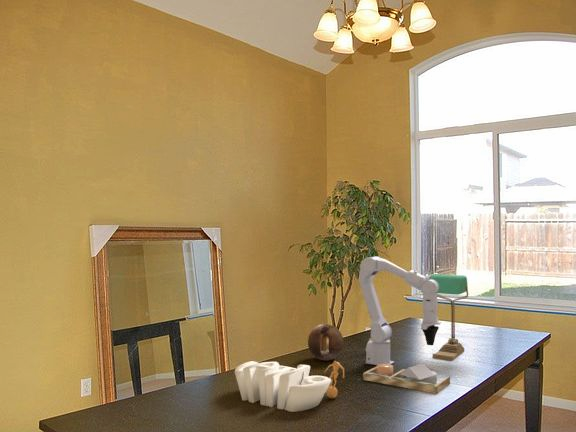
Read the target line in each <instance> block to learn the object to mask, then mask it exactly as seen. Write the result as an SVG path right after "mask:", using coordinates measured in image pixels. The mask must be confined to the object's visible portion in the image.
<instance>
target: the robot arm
mask: <svg viewBox="0 0 576 432" xmlns="http://www.w3.org/2000/svg"><path fill="white" fill-rule="evenodd" d="M359 267H360V268H359V275H358V282H359V286H360V289H361V292H362V295H363V298H364V302H365V306H366V308H367V311H368V315H369V319H370V324H369V328H370V338H372V340H373V341H369V340H368V341H367V343H366V348H365V349H366V351H365V353H366V354H365V356H366V357H365V358H366V359H365V362H364V363H365V364H367V365H375V366H377V365H378V364H390V365H393V364H394V363H395V361H393V360H391V339H390V338H391V337H392V335H393V329H392V327H391V326H390V325H389V323H388V321H387V319H386V318H385V317H384V315H383V311H382V308H381V306H380V305H381V304H380V301H379V299H378V296H377V292H376V290H375V286H374V283H373V279H374V278H375V276H376V275H377V273H379V272H382V271H384V272H385V271H386V272H388V273H390V274H393V275H395V276H397V277H399V278H402V279H403V281H404V283H405V284H406V285H409V286H411V287H412V288H415V289H416V290H418V291H421V293H422V320H421V324H420V329H421V330H422V333H423V334H424V337H425V342H426V345H427V346H434V343H435V340H436V339H435V338H436V335H437V333H438V331H439V329H440V327H439V326H440V325H441V323H442V322H441V321H440V319H439V318H438V317H439V315H438V306H439V305H438V300H439V299H438V297H437V294H438V293H436V292H437V291H438V289H439V285H438V283H437V282H436V281H435V280H434V279H428V278H429V277H430V276H425V275H422V274H421V273H419V272H418V271H417V270H408V271H407V270H405V269H404V268H402V267H399V266H398V265H397V264H395V263H393V262H391V261H389V260H388V259H385V258H381V257H380V256H377V255H376V256H375V255H374V256H370V257H365V258H363V260H362V262H361V263H360V264H359ZM434 293H435V294H434ZM438 325H439V326H438Z"/></svg>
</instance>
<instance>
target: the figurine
mask: <svg viewBox="0 0 576 432" xmlns="http://www.w3.org/2000/svg"><path fill="white" fill-rule="evenodd" d="M330 367H332V369H333V370H332V371H331V373H330V375H329V377H328V378H330V379H331V383H330V385H329V386H328V388H327V390H326V392H325V395H326V397H327V398H329V399H335V398H336V397H337V396H338V394H339V393H338V389H337V387H336V384H337V379H338V376H339V372H338V371H339V370H340V369H341V370H342V379H345V368H344V367H343V366H342V365H341V363H340V362H339V361H336V360H334V361H333V362H332V364H329V365H328V366H327V368H325V370H324V374H326V372H327V370H329V368H330Z"/></svg>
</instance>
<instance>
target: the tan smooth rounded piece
mask: <svg viewBox="0 0 576 432" xmlns="http://www.w3.org/2000/svg"><path fill="white" fill-rule="evenodd" d="M376 366H377V374H380V375H385V376H389V377H390V376H392V375H394V365H393V364H378V365H376Z"/></svg>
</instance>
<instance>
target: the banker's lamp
mask: <svg viewBox="0 0 576 432" xmlns="http://www.w3.org/2000/svg"><path fill="white" fill-rule="evenodd" d="M428 277H429V278H428V279H434V280H435V281H436V282H437V283H438V285H439V289H438V291H437V292H436V293H437V298H440V299H444V300H446V301H449V302H450V309H451V311H450V313H451V314H450V315H451V318H450V319H451V320H450V321H451V322H450V323H451V325H450V327H451V328H450V329H451V330H450V331H451V334H450V337H451V338H450V337H449V338H448V341H447V342H446V343H444V344H443V345H442V346H441V347H440V348H439V349H438V351H437V352H435V353H432V359H437V360H445V361H451V362H452V361H454V360H455V359H457V358H458V357H459V356H460V355H462V354H463V353H464V352H465V347H464V346H463V344H462V343H461V342H459V339H458V338H456V324H455V323H456V317H455V314H456V311H455V310H456V309H455V308H456V306H455V301H459V300H465V299H467V298H468V297H469V290H468V288H469V287H468V278H467V276H466V275H464V274H463V275H461V274H444V273H443V274H442V273H441V274H440V273H438V274H437V273H435V274H430V275H429V276H428ZM465 292H466V295H464V296H461V297H458V298H454V299H453V300H452V299H451V298H450V297H446V296H444V295H456V296H458V295H462V294H464V293H465ZM434 294H435V293H434ZM441 294H442V295H441Z"/></svg>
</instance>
